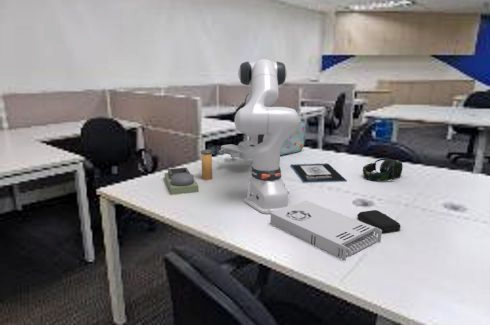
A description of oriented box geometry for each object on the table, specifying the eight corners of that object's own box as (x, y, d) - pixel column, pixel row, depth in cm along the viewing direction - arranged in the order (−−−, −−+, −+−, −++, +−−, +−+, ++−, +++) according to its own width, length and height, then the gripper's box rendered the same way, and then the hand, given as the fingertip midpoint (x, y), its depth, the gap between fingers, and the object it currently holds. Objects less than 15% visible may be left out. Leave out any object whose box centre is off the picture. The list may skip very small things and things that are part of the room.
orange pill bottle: (213, 179, 186) (213, 151, 182) (202, 180, 184) (202, 152, 181) (211, 176, 191) (210, 149, 187) (200, 177, 189) (199, 150, 186)
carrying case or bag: (405, 231, 132) (378, 215, 146) (406, 223, 131) (379, 207, 145) (379, 235, 129) (354, 218, 142) (380, 227, 128) (355, 210, 142)
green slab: (198, 191, 169) (198, 179, 167) (171, 194, 165) (170, 181, 164) (188, 176, 191) (188, 164, 189) (164, 178, 187) (164, 166, 186)
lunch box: (294, 148, 251) (295, 116, 245) (306, 151, 243) (308, 117, 237) (264, 154, 234) (265, 120, 228) (276, 157, 227) (277, 122, 221)
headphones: (382, 160, 201) (354, 170, 193) (397, 146, 190) (367, 157, 182) (397, 181, 196) (368, 193, 188) (412, 169, 185) (382, 181, 177)
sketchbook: (303, 184, 181) (303, 180, 181) (289, 167, 210) (289, 163, 210) (346, 182, 183) (347, 178, 183) (327, 165, 212) (327, 162, 212)
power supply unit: (344, 262, 113) (346, 247, 111) (269, 225, 137) (270, 212, 136) (380, 243, 124) (382, 229, 123) (305, 212, 149) (306, 200, 147)
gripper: (232, 140, 209) (212, 144, 200) (258, 147, 195) (238, 151, 186) (232, 151, 211) (212, 156, 202) (258, 159, 196) (238, 164, 187)
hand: (225, 154), depth 193 cm, fingers open, 8 cm apart
